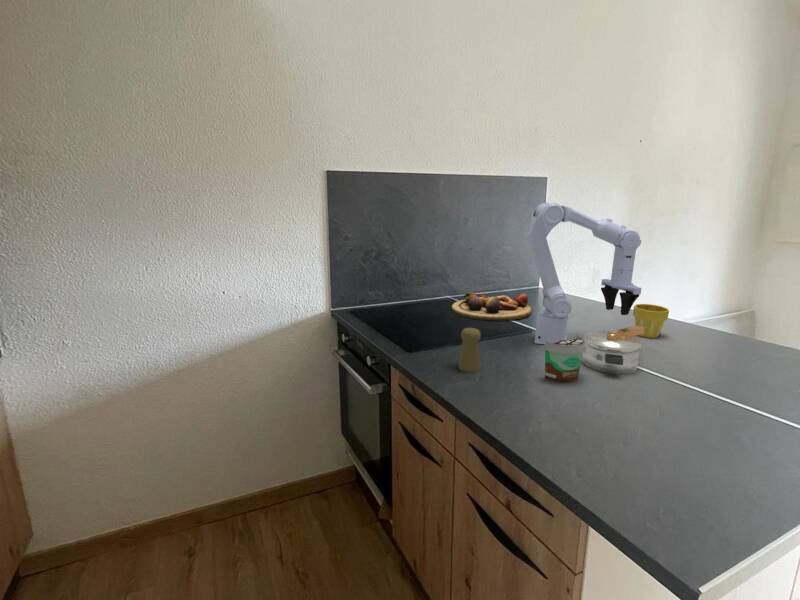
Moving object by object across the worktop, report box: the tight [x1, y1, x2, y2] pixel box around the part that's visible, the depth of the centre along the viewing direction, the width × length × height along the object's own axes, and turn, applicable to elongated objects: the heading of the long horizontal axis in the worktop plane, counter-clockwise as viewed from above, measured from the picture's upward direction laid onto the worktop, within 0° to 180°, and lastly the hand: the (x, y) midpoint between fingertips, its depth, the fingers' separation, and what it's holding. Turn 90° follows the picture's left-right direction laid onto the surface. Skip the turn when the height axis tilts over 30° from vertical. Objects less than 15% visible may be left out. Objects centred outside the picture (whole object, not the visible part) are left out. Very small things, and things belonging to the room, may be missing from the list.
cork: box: [457, 327, 482, 373], centre depth 115 cm, size 6×6×11 cm
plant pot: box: [632, 303, 670, 339], centre depth 145 cm, size 10×10×10 cm
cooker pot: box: [581, 344, 641, 375], centre depth 120 cm, size 22×14×6 cm, turn 160°
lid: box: [582, 325, 645, 353], centre depth 120 cm, size 20×15×3 cm
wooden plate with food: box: [451, 290, 533, 322], centre depth 175 cm, size 32×32×8 cm
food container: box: [543, 335, 587, 383], centre depth 109 cm, size 12×6×10 cm, turn 117°
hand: (616, 312), depth 135 cm, fingers open, 6 cm apart
